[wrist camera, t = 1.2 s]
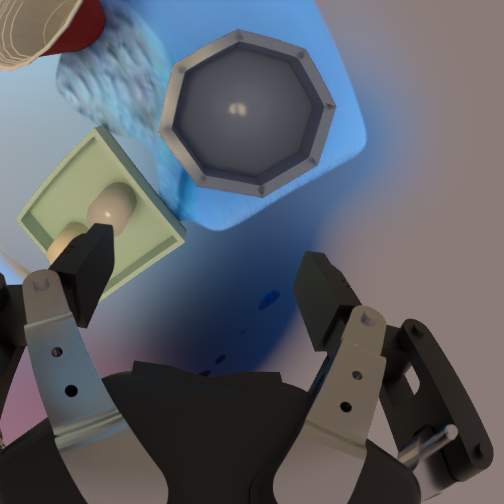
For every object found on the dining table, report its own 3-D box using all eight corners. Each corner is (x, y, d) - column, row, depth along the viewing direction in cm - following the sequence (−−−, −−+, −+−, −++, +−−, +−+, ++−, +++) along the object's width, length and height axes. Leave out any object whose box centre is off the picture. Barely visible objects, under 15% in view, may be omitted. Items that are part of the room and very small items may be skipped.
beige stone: (57, 234, 28) (41, 255, 24) (76, 215, 28) (60, 234, 24) (79, 258, 31) (66, 281, 27) (98, 240, 30) (86, 262, 26)
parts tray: (26, 209, 26) (15, 219, 24) (104, 124, 24) (94, 127, 21) (101, 290, 35) (96, 304, 32) (186, 229, 32) (185, 242, 30)
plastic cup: (28, 54, 16) (-35, 52, 6) (84, -19, 13) (39, -54, 3) (84, 89, 21) (23, 91, 11) (147, 10, 18) (117, -34, 8)
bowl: (139, 95, 23) (130, 95, 20) (271, 21, 21) (281, 11, 17) (220, 207, 32) (223, 221, 28) (336, 139, 29) (353, 145, 26)
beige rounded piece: (94, 197, 27) (78, 215, 23) (120, 174, 27) (107, 189, 23) (117, 224, 30) (106, 245, 26) (144, 203, 29) (135, 222, 25)
